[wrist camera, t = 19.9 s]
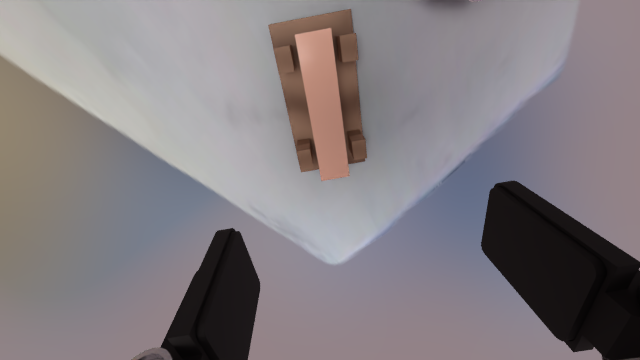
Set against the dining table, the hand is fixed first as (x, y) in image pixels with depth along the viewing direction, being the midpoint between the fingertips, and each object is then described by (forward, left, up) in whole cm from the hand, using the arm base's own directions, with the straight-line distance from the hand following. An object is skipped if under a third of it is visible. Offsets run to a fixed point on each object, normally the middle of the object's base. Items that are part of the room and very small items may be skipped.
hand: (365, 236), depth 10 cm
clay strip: (0, 0, -25) cm, 25 cm away
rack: (0, 0, -26) cm, 26 cm away
